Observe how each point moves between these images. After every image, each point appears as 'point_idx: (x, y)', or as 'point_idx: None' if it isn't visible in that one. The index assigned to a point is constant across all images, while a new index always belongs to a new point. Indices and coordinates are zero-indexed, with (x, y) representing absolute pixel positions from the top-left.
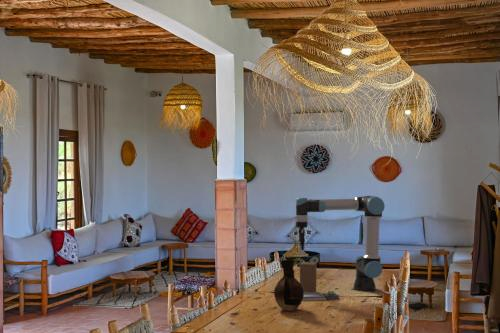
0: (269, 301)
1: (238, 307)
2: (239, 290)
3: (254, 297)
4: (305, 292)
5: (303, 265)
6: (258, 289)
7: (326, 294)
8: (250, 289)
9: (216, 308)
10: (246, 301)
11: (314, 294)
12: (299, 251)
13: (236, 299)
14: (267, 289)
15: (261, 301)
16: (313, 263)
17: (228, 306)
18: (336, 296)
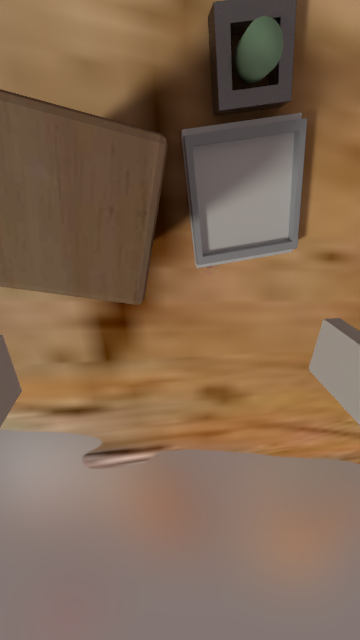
0: (282, 359)
1: (343, 422)
2: (95, 451)
3: (213, 403)
4: (194, 224)
5: (148, 270)
6: (61, 405)
7: (257, 94)
8: (68, 427)
9: (340, 458)
10: (272, 415)
11: (197, 171)
12: (14, 392)
13: (241, 439)
14: (52, 378)
15: (278, 380)
16: (77, 144)
17: (325, 442)
18: (291, 18)
